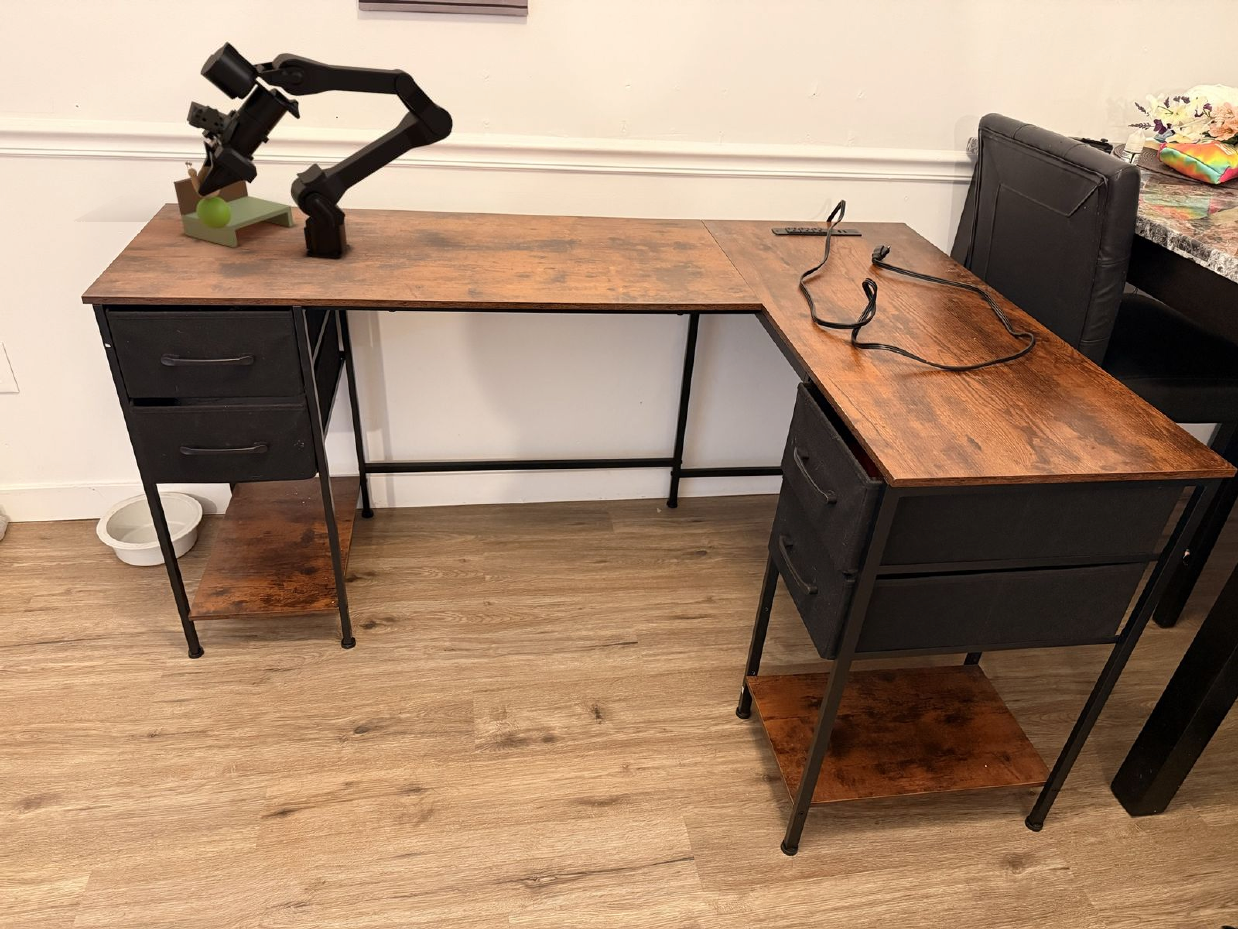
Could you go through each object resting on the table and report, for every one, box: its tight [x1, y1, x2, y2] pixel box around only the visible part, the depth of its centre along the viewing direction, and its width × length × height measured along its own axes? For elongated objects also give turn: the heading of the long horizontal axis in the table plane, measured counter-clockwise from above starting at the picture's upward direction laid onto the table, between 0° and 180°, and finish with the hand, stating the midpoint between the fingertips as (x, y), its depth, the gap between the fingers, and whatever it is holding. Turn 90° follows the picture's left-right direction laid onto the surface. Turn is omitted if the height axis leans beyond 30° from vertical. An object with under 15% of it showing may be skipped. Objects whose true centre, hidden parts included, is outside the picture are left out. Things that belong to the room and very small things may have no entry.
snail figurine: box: [185, 161, 231, 229], centre depth 145 cm, size 5×6×12 cm
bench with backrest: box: [173, 177, 295, 248], centre depth 164 cm, size 12×16×10 cm
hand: (198, 191), depth 144 cm, fingers closed on snail figurine, 4 cm apart
